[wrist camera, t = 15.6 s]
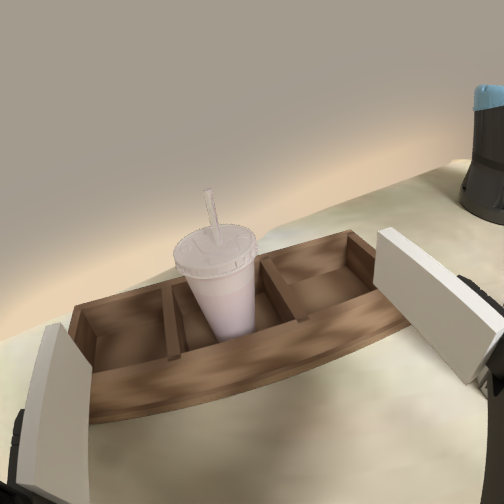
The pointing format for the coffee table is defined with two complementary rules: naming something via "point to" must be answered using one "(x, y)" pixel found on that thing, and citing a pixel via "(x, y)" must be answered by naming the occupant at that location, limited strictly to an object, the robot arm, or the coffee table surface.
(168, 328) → the caddy
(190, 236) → the smoothie
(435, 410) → the coffee table surface
